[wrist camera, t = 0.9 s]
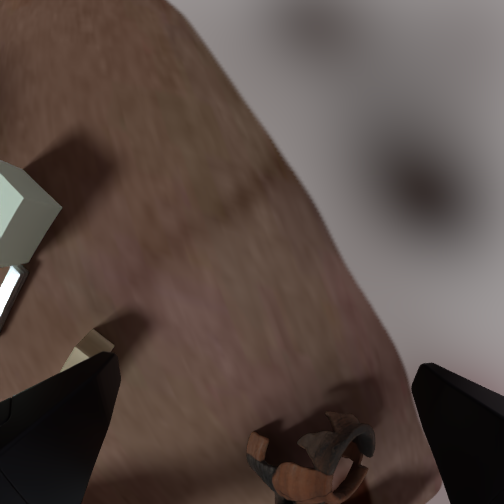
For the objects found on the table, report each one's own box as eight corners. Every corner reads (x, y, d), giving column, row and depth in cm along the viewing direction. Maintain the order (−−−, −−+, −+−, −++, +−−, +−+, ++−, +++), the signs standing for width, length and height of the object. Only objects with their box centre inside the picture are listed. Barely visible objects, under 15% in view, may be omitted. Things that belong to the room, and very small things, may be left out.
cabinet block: (28, 262, 19) (-16, 270, 13) (-10, 221, 18) (-56, 218, 12) (62, 207, 19) (23, 197, 13) (22, 168, 18) (-20, 150, 12)
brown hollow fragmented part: (245, 399, 23) (330, 427, 17) (317, 392, 29) (390, 406, 23) (228, 514, 20) (296, 558, 14) (298, 491, 26) (362, 516, 20)
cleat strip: (-3, 338, 18) (-12, 343, 17) (-11, 330, 18) (-20, 335, 16) (29, 272, 19) (20, 274, 17) (21, 263, 18) (11, 265, 17)
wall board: (42, 459, 19) (29, 483, 15) (25, 446, 18) (10, 469, 15) (114, 345, 20) (101, 366, 16) (92, 328, 20) (75, 346, 16)
